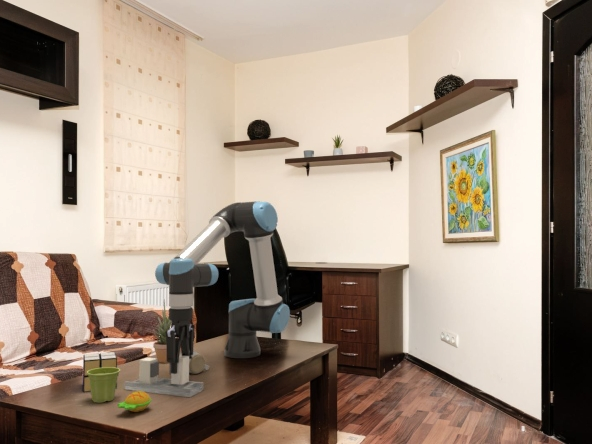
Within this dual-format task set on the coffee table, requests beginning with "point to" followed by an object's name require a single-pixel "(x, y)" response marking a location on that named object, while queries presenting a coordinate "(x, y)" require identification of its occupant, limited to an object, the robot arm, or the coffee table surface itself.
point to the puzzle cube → (96, 365)
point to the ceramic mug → (197, 363)
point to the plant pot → (103, 383)
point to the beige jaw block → (183, 369)
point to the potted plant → (162, 338)
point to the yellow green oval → (136, 401)
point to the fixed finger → (148, 370)
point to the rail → (166, 387)
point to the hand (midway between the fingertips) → (180, 381)
